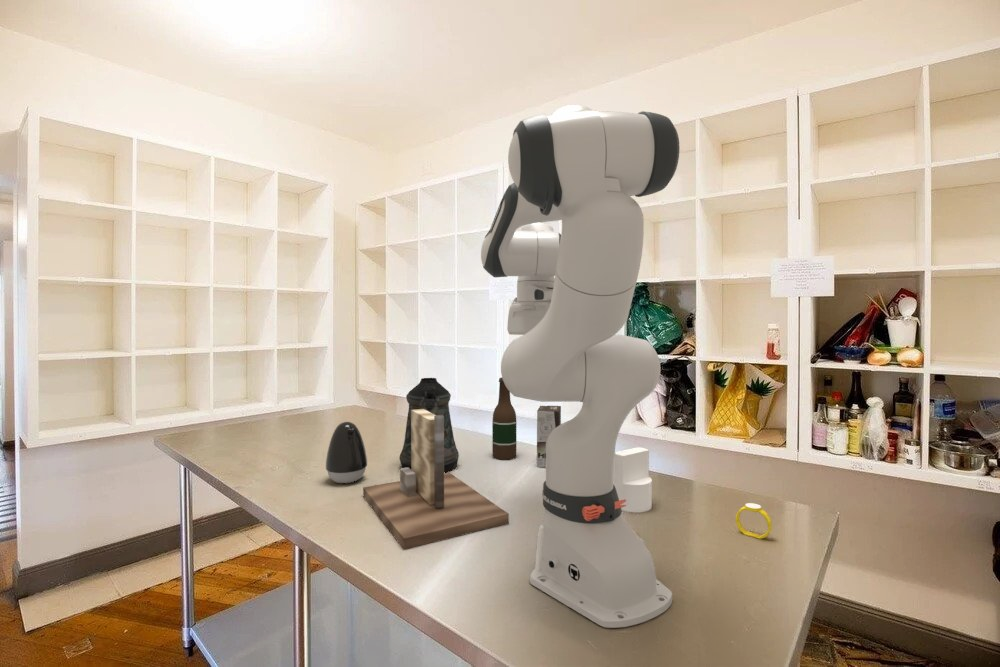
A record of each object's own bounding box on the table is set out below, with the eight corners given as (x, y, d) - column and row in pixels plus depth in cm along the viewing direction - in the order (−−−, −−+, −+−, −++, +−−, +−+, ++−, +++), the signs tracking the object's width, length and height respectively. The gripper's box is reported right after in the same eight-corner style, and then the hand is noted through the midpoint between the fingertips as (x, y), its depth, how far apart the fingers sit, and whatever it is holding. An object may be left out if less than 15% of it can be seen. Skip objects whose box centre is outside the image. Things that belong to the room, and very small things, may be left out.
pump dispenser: (333, 490, 115) (332, 428, 114) (320, 478, 123) (320, 420, 123) (373, 481, 121) (373, 422, 120) (359, 471, 129) (358, 416, 129)
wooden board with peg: (508, 523, 96) (508, 489, 96) (404, 549, 85) (403, 511, 85) (449, 480, 122) (449, 453, 122) (363, 495, 111) (363, 466, 111)
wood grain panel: (447, 506, 99) (447, 416, 98) (434, 509, 98) (433, 417, 97) (423, 483, 113) (423, 404, 112) (411, 485, 111) (411, 405, 111)
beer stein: (440, 454, 145) (439, 373, 145) (475, 470, 130) (475, 380, 129) (389, 464, 135) (389, 377, 134) (422, 483, 120) (421, 385, 119)
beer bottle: (521, 458, 141) (521, 378, 140) (497, 461, 138) (497, 379, 137) (511, 452, 148) (511, 375, 147) (487, 454, 145) (487, 376, 145)
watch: (735, 535, 91) (733, 504, 92) (739, 530, 94) (737, 500, 94) (770, 542, 88) (767, 510, 88) (773, 537, 90) (771, 506, 90)
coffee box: (559, 468, 132) (559, 411, 131) (536, 467, 133) (536, 410, 132) (561, 459, 140) (561, 405, 140) (539, 458, 142) (540, 404, 141)
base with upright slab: (632, 515, 100) (633, 459, 100) (601, 502, 107) (602, 449, 107) (660, 506, 105) (660, 453, 105) (628, 494, 112) (629, 444, 112)
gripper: (501, 297, 117) (500, 353, 117) (550, 291, 99) (550, 357, 99) (522, 298, 120) (522, 352, 120) (574, 293, 102) (573, 356, 102)
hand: (535, 354), depth 109 cm, fingers closed
